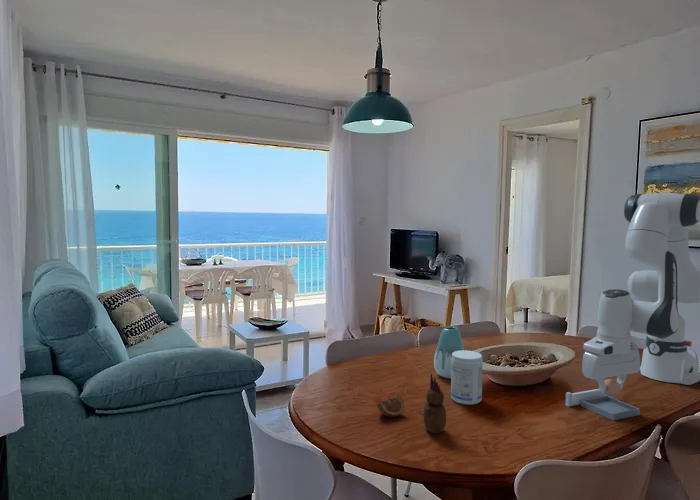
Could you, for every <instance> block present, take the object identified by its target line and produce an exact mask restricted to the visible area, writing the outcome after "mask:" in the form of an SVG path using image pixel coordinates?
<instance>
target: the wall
mask: <svg viewBox="0 0 700 500" xmlns="http://www.w3.org/2000/svg"><path fill="white" fill-rule="evenodd" d="M602 396H608V395H606V394H605V393H604V392H602V391H600V390H599V388H597V389H595V388H594V389H591V390H590V389H589V390H584V391H578V392H573V393H571V392H570V391H568V392H565V406H566V407H573V406H578V405H581V400H585V399H591V398H596V397H602ZM609 397H611V396H609ZM614 397H615V396H614ZM614 397H612V398H614ZM614 399H615V398H614Z"/></svg>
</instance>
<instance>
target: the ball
mask: <svg viewBox="0 0 700 500" xmlns="http://www.w3.org/2000/svg"><path fill="white" fill-rule="evenodd" d="M616 381H617V380H615V379H609V378H608V379H606V381H604V382H605V385H606V386H608V388H607V389H608V391H606V392H604V393H605V394H606V395H608V396H611V397H616V396H618V395H620V393H621V390H622V389H621V388H620V385H619V384H618V382H616Z"/></svg>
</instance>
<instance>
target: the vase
mask: <svg viewBox="0 0 700 500" xmlns="http://www.w3.org/2000/svg"><path fill="white" fill-rule="evenodd" d="M437 342H438V343H437V346H436V349H435V353H434V357H433V367H434V370H435V372H436V374H437V375H439V376H440V377H442V378H446V379H450V380H451V359H452V353H453V352H455V351H460V350H465V347H464V345H463V339H462V335H461V332H460V330H459V328H458V327H457V326H447V327H444V328H443V329H442V331H441V332H440V336H439V338H438V341H437Z"/></svg>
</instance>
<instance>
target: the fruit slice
mask: <svg viewBox="0 0 700 500" xmlns="http://www.w3.org/2000/svg"><path fill="white" fill-rule="evenodd" d="M376 407H377V409H378V410H379V412H381V414H383V415H384V416H386V417H389V418H395V417H399V416H400V415H401V414H402V413H403V411H404V410H405V409H404V408H405V404H404V400H403V398H402V396H401V395H400V396H397V397H393V398H389V399H388V400H384V401H381V402H378V403H377V404H376Z"/></svg>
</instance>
